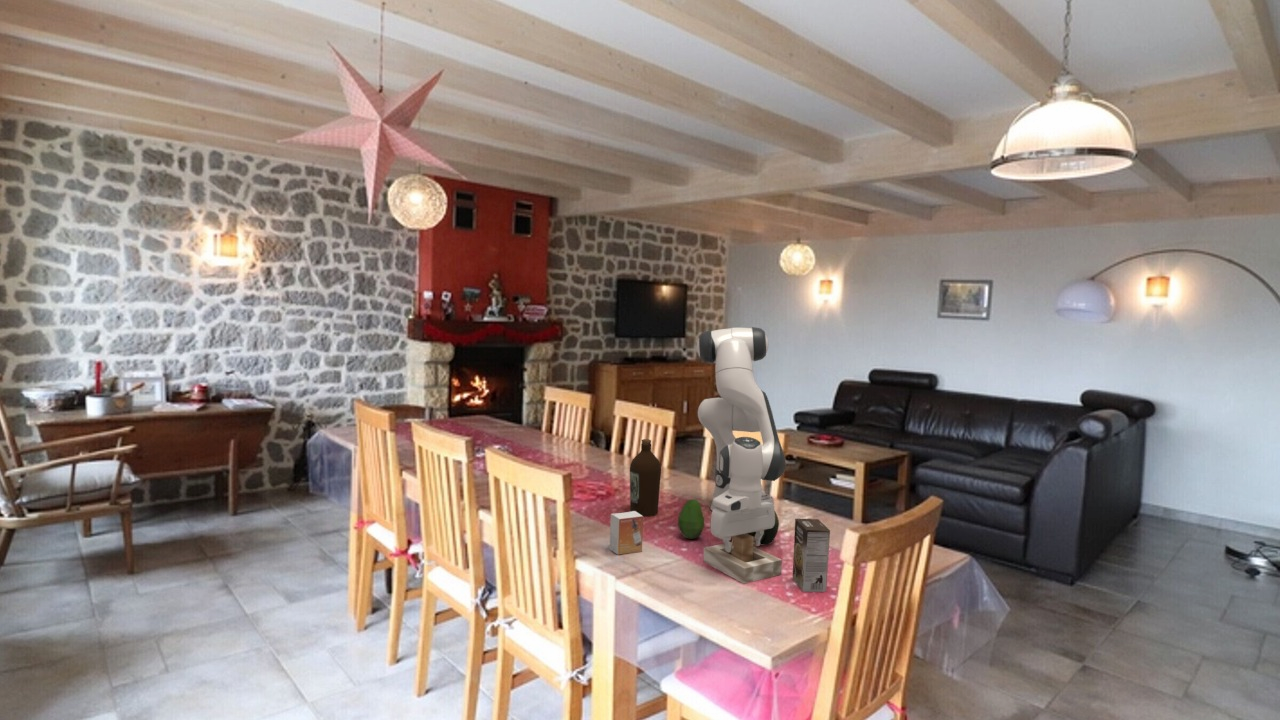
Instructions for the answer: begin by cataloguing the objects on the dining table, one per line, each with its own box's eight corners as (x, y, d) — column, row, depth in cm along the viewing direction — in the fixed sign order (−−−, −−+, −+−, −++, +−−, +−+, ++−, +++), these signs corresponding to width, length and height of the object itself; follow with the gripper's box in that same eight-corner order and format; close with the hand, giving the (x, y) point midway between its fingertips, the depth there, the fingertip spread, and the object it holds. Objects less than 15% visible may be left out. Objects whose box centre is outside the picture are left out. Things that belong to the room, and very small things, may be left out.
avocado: (705, 535, 213) (707, 497, 212) (701, 543, 205) (702, 504, 204) (680, 532, 215) (681, 494, 214) (674, 540, 208) (676, 501, 207)
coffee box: (791, 577, 182) (794, 518, 180) (815, 577, 182) (818, 518, 181) (802, 592, 172) (805, 529, 171) (827, 592, 173) (830, 529, 172)
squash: (772, 537, 197) (778, 490, 205) (720, 531, 202) (728, 486, 211) (777, 557, 207) (783, 511, 216) (728, 551, 212) (736, 507, 221)
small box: (617, 555, 194) (618, 519, 193) (609, 549, 199) (610, 513, 198) (642, 551, 197) (643, 515, 196) (633, 545, 202) (635, 510, 201)
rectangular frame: (739, 553, 198) (740, 540, 198) (781, 574, 184) (782, 559, 183) (703, 561, 191) (703, 547, 191) (743, 583, 177) (744, 568, 176)
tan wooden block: (738, 562, 191) (740, 530, 191) (755, 571, 185) (757, 538, 185) (727, 565, 189) (729, 533, 188) (744, 573, 183) (745, 540, 183)
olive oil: (652, 506, 241) (654, 436, 239) (664, 515, 231) (667, 442, 229) (623, 509, 237) (625, 437, 235) (635, 518, 227) (637, 443, 225)
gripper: (765, 490, 194) (763, 538, 195) (708, 500, 183) (705, 550, 184) (781, 496, 189) (779, 545, 190) (723, 506, 178) (720, 558, 179)
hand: (742, 548), depth 187 cm, fingers open, 8 cm apart
